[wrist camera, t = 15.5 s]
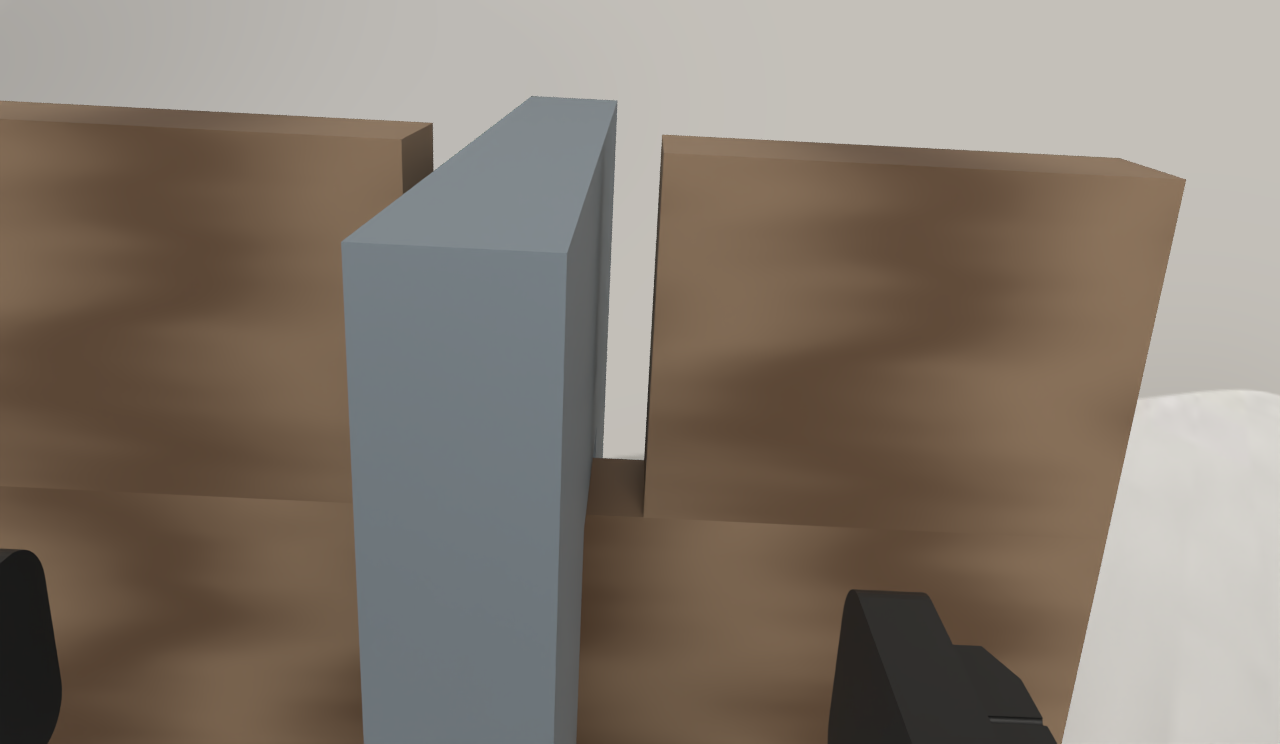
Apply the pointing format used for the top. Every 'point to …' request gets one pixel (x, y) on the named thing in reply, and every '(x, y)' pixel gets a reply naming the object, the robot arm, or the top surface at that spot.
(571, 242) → the slate plate
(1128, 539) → the top surface
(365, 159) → the walnut board
